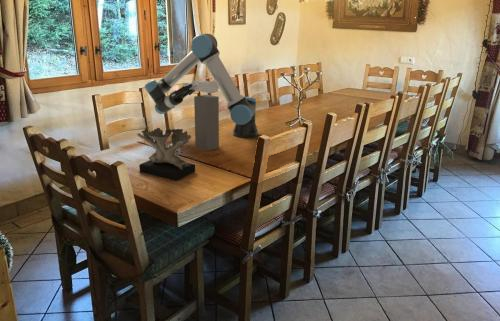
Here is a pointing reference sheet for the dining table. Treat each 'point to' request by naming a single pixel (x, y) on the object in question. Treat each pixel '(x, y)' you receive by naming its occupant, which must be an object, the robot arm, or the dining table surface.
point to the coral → (166, 155)
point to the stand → (206, 122)
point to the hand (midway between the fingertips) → (198, 82)
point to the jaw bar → (205, 86)
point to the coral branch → (175, 150)
